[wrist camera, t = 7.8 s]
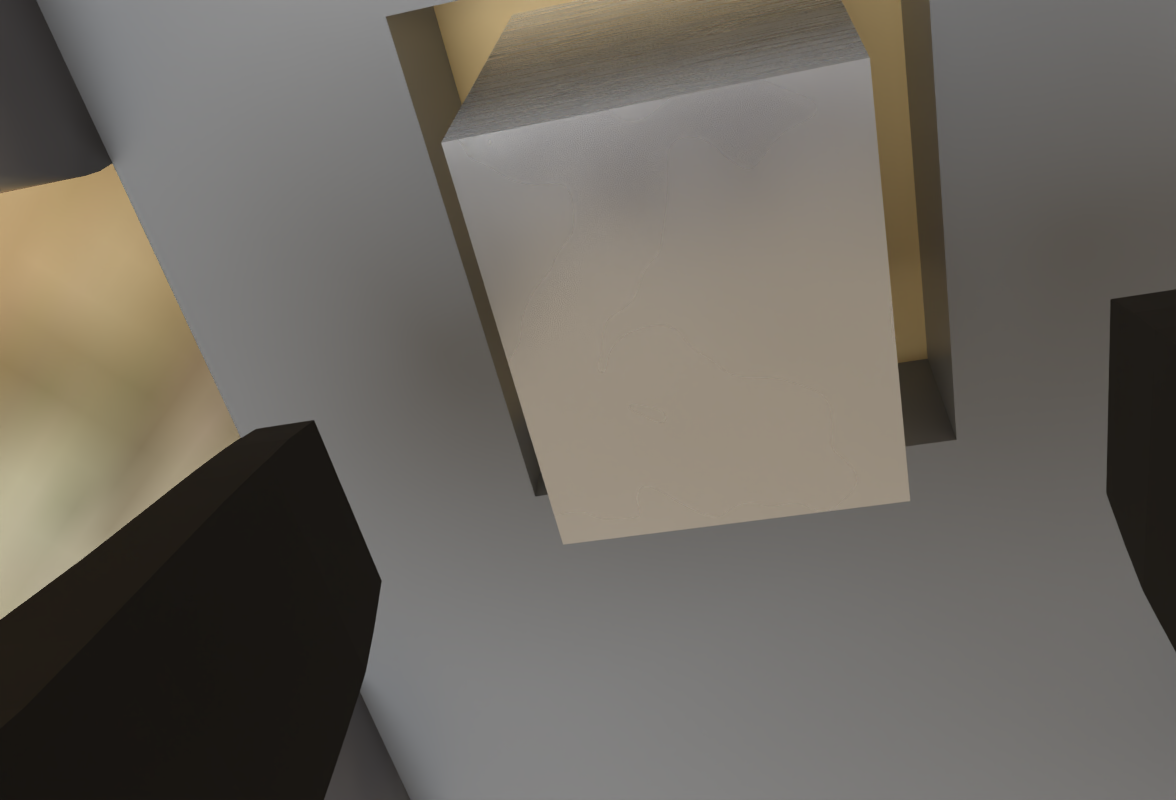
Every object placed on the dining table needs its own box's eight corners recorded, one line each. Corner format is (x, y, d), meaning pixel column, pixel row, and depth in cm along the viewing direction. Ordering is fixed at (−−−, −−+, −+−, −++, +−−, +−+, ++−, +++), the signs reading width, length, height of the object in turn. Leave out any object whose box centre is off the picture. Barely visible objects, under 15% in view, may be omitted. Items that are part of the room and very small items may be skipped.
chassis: (1262, 692, 21) (1410, 948, 16) (394, 770, 24) (330, 1002, 20) (1458, -792, 10) (1983, -1124, 6) (-113, -309, 14) (-476, -310, 9)
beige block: (854, 295, 17) (909, 501, 12) (594, 337, 17) (563, 544, 13) (815, -52, 14) (869, 57, 10) (512, 14, 15) (441, 142, 10)
